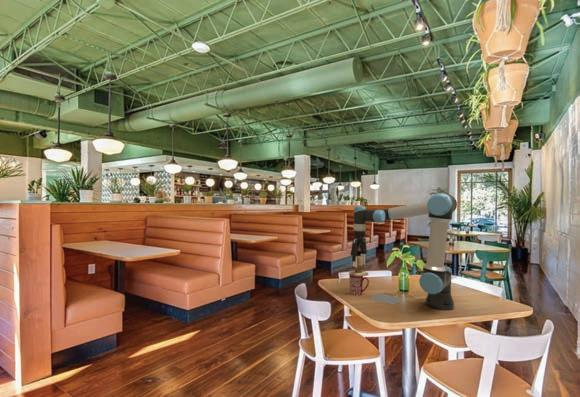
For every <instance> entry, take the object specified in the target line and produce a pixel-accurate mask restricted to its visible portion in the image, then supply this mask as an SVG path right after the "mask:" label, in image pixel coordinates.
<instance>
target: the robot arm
mask: <svg viewBox="0 0 580 397" xmlns="http://www.w3.org/2000/svg"><path fill="white" fill-rule="evenodd" d="M457 207H458V202H457V199H456V197H455V196H453V195H452V194H448V193H443V192H442V193H435V194H433V195H431V196H430V197H429V198H428V200H427V201H421V202H416V203H411V204H407V205H405V204H404V205H401V206H395V207H389V208H385V209H367V207H366V206H360V205H359V206H358V205H356V206H354V207H353V224H352V226H353V231H352V232H353V233H352V234H353V236H352V237H355V238H354V239H352V243H351V244H352V246H351V249H350V256H352V264H351V265H352V266H351V267H353V268H355V267H357V256H358V255H357V254H358V252H359V249H360V256H363V265H365V264H366V255H367V254H368V248H367V243H366V242H367V241H366V239H367V238H366V223H367V222H370V223H385V222H389V221H395V220H400V219H406V218H413V217H418V216H424V215H428V219H429V220H430V227H429V236H428V237H429V238H428V245H427V246H428V247H427V256H426V263H425V264H423V266H422V274H421V276H420V277H419V280H418V281H419V286H420V288H421V289H422V290H423V291H424V292H425V293H427V295H426V298H425V301H424V303H425V305H426V306H427V307H430V308H432V309H436V310H442V311H443V310H444V311H450V310H453V309H455V303H454V299H453V296H452V268H451V267H449V266H444V264H445V258H446V256H445V255H446V247H447V236H448V228H449V222H450V221H452V220H453V213H454V212H455V210H457Z"/></svg>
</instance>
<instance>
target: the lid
mask: <svg viewBox="0 0 580 397" xmlns="http://www.w3.org/2000/svg"><path fill="white" fill-rule="evenodd" d="M356 256H357V267H354V270H349V271H348V275H349V274H351V275H354V276H363V277H366V276H369V272H368V271H365V270H364V267H363V266H364V264H363V256H361V255H356Z"/></svg>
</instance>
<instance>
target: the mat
mask: <svg viewBox="0 0 580 397" xmlns="http://www.w3.org/2000/svg"><path fill="white" fill-rule="evenodd" d="M403 299H404V298H403V297H400V296H394V295H391V294H390V295H389V294H386V293H385V294H384V293H379V292H378V293H376V294H375V295H372V296H371V297H369V298H368V300H372V301H375V302H381V303H385V304H389V305H396V304H397V303H399V302H400V301H402V300H403Z"/></svg>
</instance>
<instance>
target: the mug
mask: <svg viewBox="0 0 580 397" xmlns="http://www.w3.org/2000/svg"><path fill="white" fill-rule="evenodd" d="M348 276H349V277H348V278H349V295H352V296H356V297H357V296H358V297H360V296H362V295H363V292H364V291H365V290H366V289H367V288H368V286H369V284H370V280H369V278H368V277H366V276H354V275H351V274H349V273H348ZM365 279H366V281H367V284H366V286H365V287H364V288H363V282H364V281H365Z"/></svg>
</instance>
